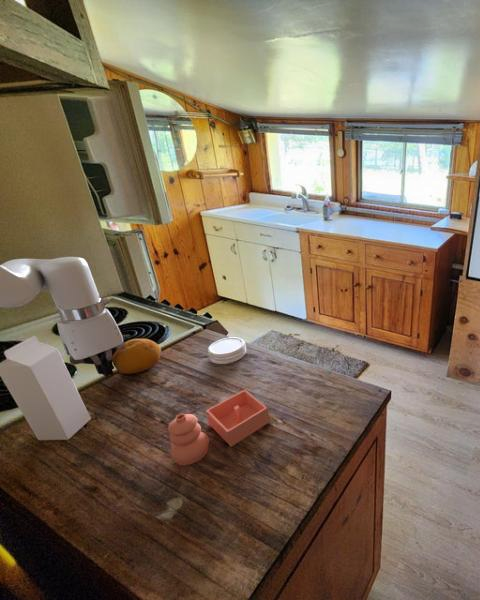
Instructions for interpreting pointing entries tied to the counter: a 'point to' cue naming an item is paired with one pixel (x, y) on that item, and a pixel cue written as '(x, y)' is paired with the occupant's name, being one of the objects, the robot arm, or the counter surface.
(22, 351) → the milk
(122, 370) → the fruit
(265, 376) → the counter surface
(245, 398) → the pottery
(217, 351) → the white round flat stack
